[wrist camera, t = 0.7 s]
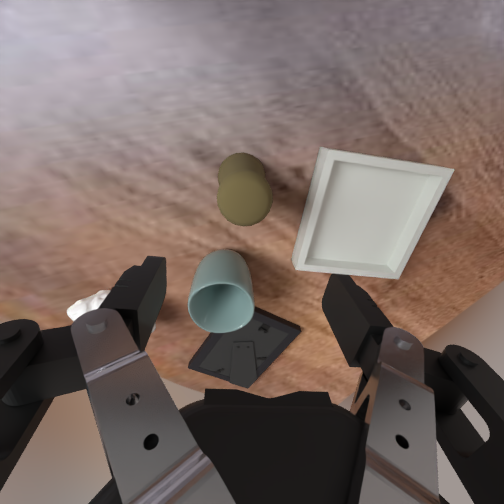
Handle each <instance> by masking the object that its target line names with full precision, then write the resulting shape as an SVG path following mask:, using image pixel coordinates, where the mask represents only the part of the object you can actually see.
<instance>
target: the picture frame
mask: <svg viewBox="0 0 504 504" xmlns="http://www.w3.org/2000/svg"><path fill="white" fill-rule="evenodd" d="M300 332H301V329H300V326H298V325H296V324H294V323H292V322H289V321H287V320H285V319H282V318H280V317H278V316H275V315H273V314H271V313H269V312H266V311H264V310H262V309H259V308H257V307H255V310H254V314H253V317H252V319H251V320H250V321H249V322H248V323H247V324H246V325H245V326H243V327H242V328H240V329H238V330H235V331H232V332H226V333H213V332H211V333H210V334H209V336H208V337H207V338H206V340H205V341H204V342H203V344H202V345H201V347H200V348H199V349H198V351H197V352H196V353H195V355H194V356H193V357H192V359H191V360H190V362H189V365H188V368H189V369H192V370H195V371H198V372H201V373H204V374H208V375H211V376H214V377H217V378H220V379H223V380H226V381H229V382H230V383H232V384H235V385H238V386H241V387H245V388H249V387H250V386H251V385H252V384H253V383H254V382H255V381H256V380H257V378H258V377H259V376H260V375H261V374H262V373H263V372H264V371H265V370H266V369H267V368H268V367H269V365H270V364H271V363H272V362H273V361H274V360H275V359H276V358H277V357H278V356H279V355H280V354H281V353H282V352H283V351H284V349H285V348H286V347H287V346H288V345H289V344H290V343H291V342H292V341H293V340H294V339H295V338H296V337H297V336H298V335H299V334H300Z"/></svg>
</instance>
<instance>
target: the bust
mask: <svg viewBox="0 0 504 504" xmlns="http://www.w3.org/2000/svg"><path fill="white" fill-rule="evenodd" d="M110 291H111V290H100V291H99V292H98V293H96V294H94V295H92V296H89V297H87V298H84V299H81V300H78V301H76V302H75V304H74V305H72V306H71V307H69V308H68V310H67V314H68V316H69V317H70V318H71V319H72V320H73V321H75V320H76V319H77V318H78V317H79V316H81V315H82V314H84V313H86V312H89V311H91V310H95V309H98V308H99V306H100V305H101V303H102V302H103V301H104V299H105V298H106V296H107V295H108V294H109V292H110ZM155 329H156V323H155V324H154V327H153V329H152V332H153V331H154V330H155ZM152 332H151V333H152Z"/></svg>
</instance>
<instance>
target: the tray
mask: <svg viewBox="0 0 504 504" xmlns="http://www.w3.org/2000/svg"><path fill="white" fill-rule="evenodd" d="M454 170H455V169H451V168H446V167H442V166H437V165H432V164H425V163H419V162H413V161H407V160H400V159H394V158H388V157H382V156H375V155H369V154H363V153H357V152H350V151H344V150H338V149H332V148H325V147H320V149H319V153H318V156H317V160H316V164H315V168H314V172H313V176H312V180H311V184H310V188H309V192H308V196H307V200H306V204H305V207H304V211H303V215H302V219H301V223H300V227H299V231H298V235H297V239H296V243H295V247H294V251H293V254H292V258H291V260H292V262H293V265H294V267H295V270H302V271H313V272H324V273H335V274H346V275H357V276H368V277H379V278H390V279H399V277H400V275H401V273H402V271H403V269H404V267H405V265H406V263H407V262H408V260H409V258H410V256H411V254H412V252H413V250H414V248H415V246H416V244H417V242H418V240H419V238H420V236H421V234H422V232H423V230H424V228H425V226H426V224H427V222H428V221H429V219H430V217H431V215H432V213H433V211H434V209H435V207H436V205H437V203H438V201H439V199H440V197H441V195H442V193H443V191H444V189H445V187H446V185H447V183H448V181H449V180H450V178H451V176H452V174H453V172H454Z"/></svg>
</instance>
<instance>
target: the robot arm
mask: <svg viewBox="0 0 504 504" xmlns="http://www.w3.org/2000/svg"><path fill="white" fill-rule="evenodd" d="M166 287H167V281H166V258H165V257H156V256H147V257H146V259H145V261H144V262H143V264H142V265H141V266H135V265H134V266H132V267H131V268H129V269H128V270H126V271H125V272H124V273H123V274H122V276H121V277H120V278H119V280H118V281H117V283H116V284H115V287H113V288H112V290H111V291H110V292H109V294H108V295H107V296H106V298H105V299H104V301H103V302H102V303H101V305H100V306H99V308H98V309H95V310H91V311H89V312H86V313H84V314H82V315H81V316H79V317H78V318H77V319H76V320H75V321H74V322H73V324H72V325H70V326H66V327H60V328H53V329H47V330H41V331H40V328H39V325H38V324H37V323H36V322H35V321H33V320H28V319H19V320H12V321H8V322H5V323H2V324H0V491H1V489H2V488H3V486H4V484H5V482H6V481H7V479H8V477H9V475H10V474H11V472H12V470H13V469H14V467H15V465H16V463H17V462H18V460H19V458H20V456H21V455H22V453H23V451H24V449H25V448H26V446H27V444H28V443H29V441H30V439H31V437H32V436H33V434H34V432H35V431H36V429H37V427H38V425H39V424H40V422H41V420H42V418H43V417H44V415H45V413H46V411H47V410H48V408H49V406H50V405H51V403H52V401H53V399H54V397H56V396H60V395H63V394H68V393H72V392H76V391H79V390H83V389H87V393H88V396H89V400H90V403H91V407H92V410H93V413H94V416H95V420H96V424H97V427H98V431H99V434H100V438H101V441H102V445H103V448H104V452H105V455H106V459H107V462H108V466H109V469H110V473H111V476H112V479H111V480H110V481H109V482H108V483H107V484H106V485H105V486H104V487H103V488H102V489H101V491H100V492H99V493H98V494H97V495H96V496H95V497H94V498H93V499H92V500H91V501H90V502H89V504H449V503H448V502H447V501H446V500H445V499H444V498H443V497H442V496H441V495H440V494H439V489H438V468H437V446H436V439H437V441H438V443H439V444H440V446H441V448H442V450H443V451H444V453H445V455H446V456H447V458H448V460H449V462H450V463H451V465H452V467H453V468H454V470H455V472H456V473H457V475H458V477H459V478H460V480H461V482H462V483H463V485H464V487H465V489H466V490H467V492H468V494H469V495H470V497H471V499H472V501H473V502H474V504H504V380H503V379H502V378H501V377H500V376H499V375H498V374H497V373H496V372H495V371H494V370H493V369H492V368H491V367H490V366H489V365H488V364H487V363H486V362H485V361H484V360H483V359H482V358H480V357H479V356H478V355H476V354H475V353H473V352H472V351H470V350H468V349H466V348H464V347H461V346H458V345H448V346H446V348H445V349H444V350H443V352H442V353H440V352H437V351H433V350H430V349H427V348H424V347H423V345H422V344H421V342H420V341H419V340H418V339H417V338H416V337H415V336H413V335H412V334H410V333H409V332H407V331H405V330H403V329H400V328H396V327H393V325H392V324H391V323H390V321H389V320H388V319H387V317H386V316H385V315H384V314H383V312H382V311H381V310H380V308H379V307H377V305H376V303H375V302H374V301H373V299H372V298H371V297H370V296H369V294H368V293H367V292H366V291H365V290H363V289H362V288H361V287H359V286H358V285H356V284H355V282H354V281H353V280H352V278H351V277H350V276H349V275H346V274H335V273H333V274H332V275H331V276H330V278H329V281H328V284H327V287H326V290H325V293H324V295H323V298H322V309H323V312H324V314H325V316H326V318H327V320H328V322H329V324H330V327H331V329H332V331H333V333H334V335H335V337H336V339H337V341H338V344H339V346H340V348H341V350H342V352H343V354H344V356H345V358H346V361H347V363H348V365H349V367H361V369H362V370H363V371H362V373H361V375H360V377H359V380H358V384H357V387H356V391H355V395H354V398H353V402H352V405H351V409H350V411H348V410H346V409H344V408H343V407H341V406H338V405H336V404H333V403H332V402H331V400H330V397H329V394H328V392H311V391H298V392H294V393H290V394H287V395H283V396H279V397H275V398H265V397H261V396H258V395H254V394H251V393H247V392H244V391H240V390H236V389H205V397H204V399H203V400H200V401H196V402H194V403H191V404H189V405H187V406H185V407H183V408H181V409H180V410H178V408H177V407H176V405H175V403H174V401H173V400H172V398H171V396H170V394H169V392H168V390H167V389H166V387H165V385H164V383H163V381H162V379H161V378H160V376H159V374H158V372H157V370H156V369H155V367H154V365H153V363H152V361H151V360H150V358H149V356H148V354H147V353H146V352H145V351H144V350H145V347H146V345H147V342H148V340H149V337H150V334H151V332H152V329H153V327H154V324H155V322H156V319H157V316H158V314H159V311H160V309H161V306H162V303H163V301H164V298H165V294H166ZM468 400H469V402H470V403H471V404H472V405H473V407H474V408H475V409H476V410H477V412H478V413H479V414H480V415H481V417H482V418H483V419H484V421H485V422H486V423H487V425H488V428H489V431H490V437H489V439H488V441H486V442H484V441H483V439H482V438H481V436H480V435H479V434H478V432H477V431H476V429H475V428H474V427H473V425H472V424H471V423H470V421H469V420H468V418H467V417H466V416H465V414H464V413H463V412H462V410H461V409H460V408H461V407H462V406H463V405H464V404H465V403H466V402H467V401H468Z"/></svg>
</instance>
